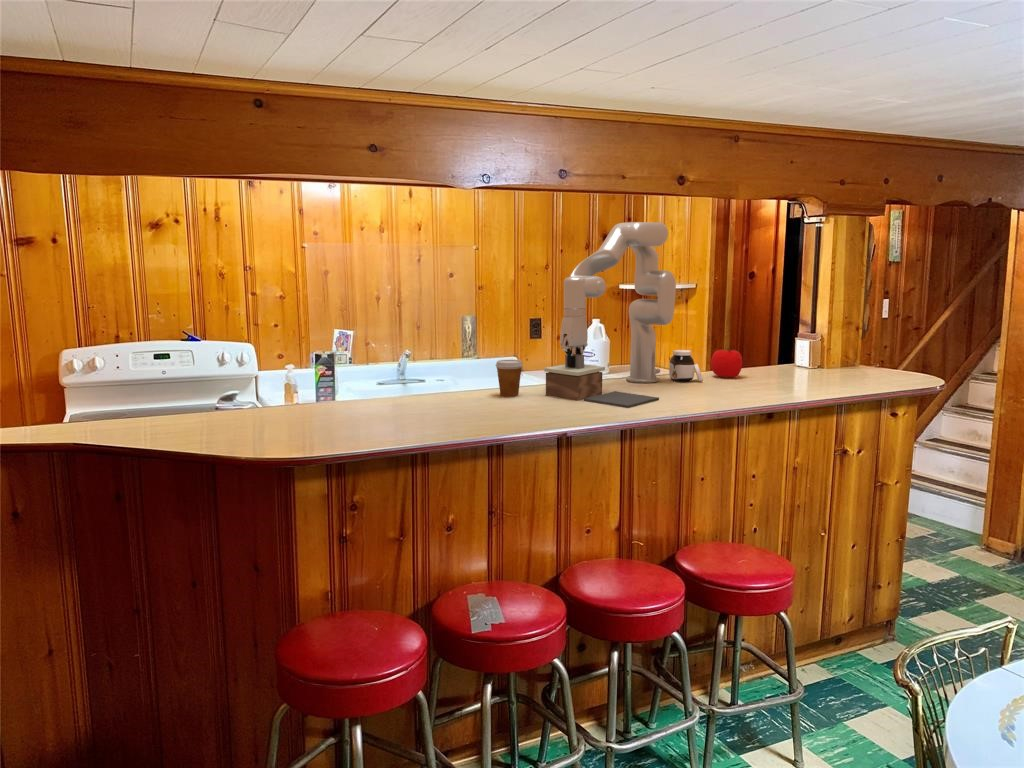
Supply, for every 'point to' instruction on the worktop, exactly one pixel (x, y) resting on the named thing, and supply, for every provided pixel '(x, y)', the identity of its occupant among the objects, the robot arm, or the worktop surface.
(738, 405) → the worktop surface
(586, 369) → the lid
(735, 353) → the red apple
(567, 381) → the box
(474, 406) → the worktop surface
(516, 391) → the disposable coffee cup
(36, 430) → the worktop surface
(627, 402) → the mat
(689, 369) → the spread jar
